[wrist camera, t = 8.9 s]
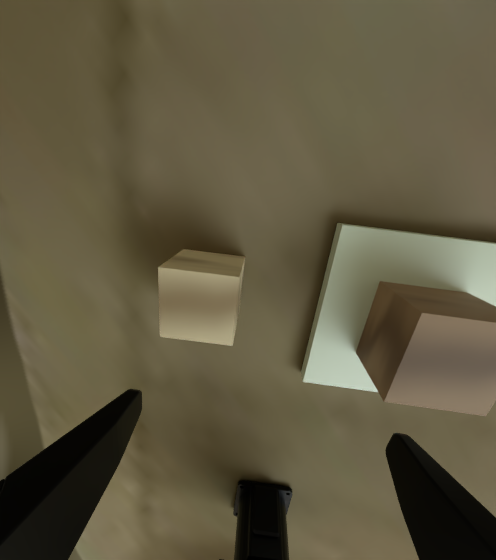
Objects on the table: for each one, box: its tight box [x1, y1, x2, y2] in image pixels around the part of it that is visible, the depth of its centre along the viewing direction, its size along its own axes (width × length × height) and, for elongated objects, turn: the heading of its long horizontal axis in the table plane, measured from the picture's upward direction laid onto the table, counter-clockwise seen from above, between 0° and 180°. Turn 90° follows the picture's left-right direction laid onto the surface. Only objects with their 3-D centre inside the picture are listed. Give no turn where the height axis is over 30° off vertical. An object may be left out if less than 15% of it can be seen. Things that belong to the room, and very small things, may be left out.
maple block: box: [158, 249, 245, 346], centre depth 18 cm, size 5×5×5 cm
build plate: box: [301, 223, 496, 392], centre depth 19 cm, size 14×14×1 cm
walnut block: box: [356, 281, 496, 416], centre depth 16 cm, size 6×6×5 cm
